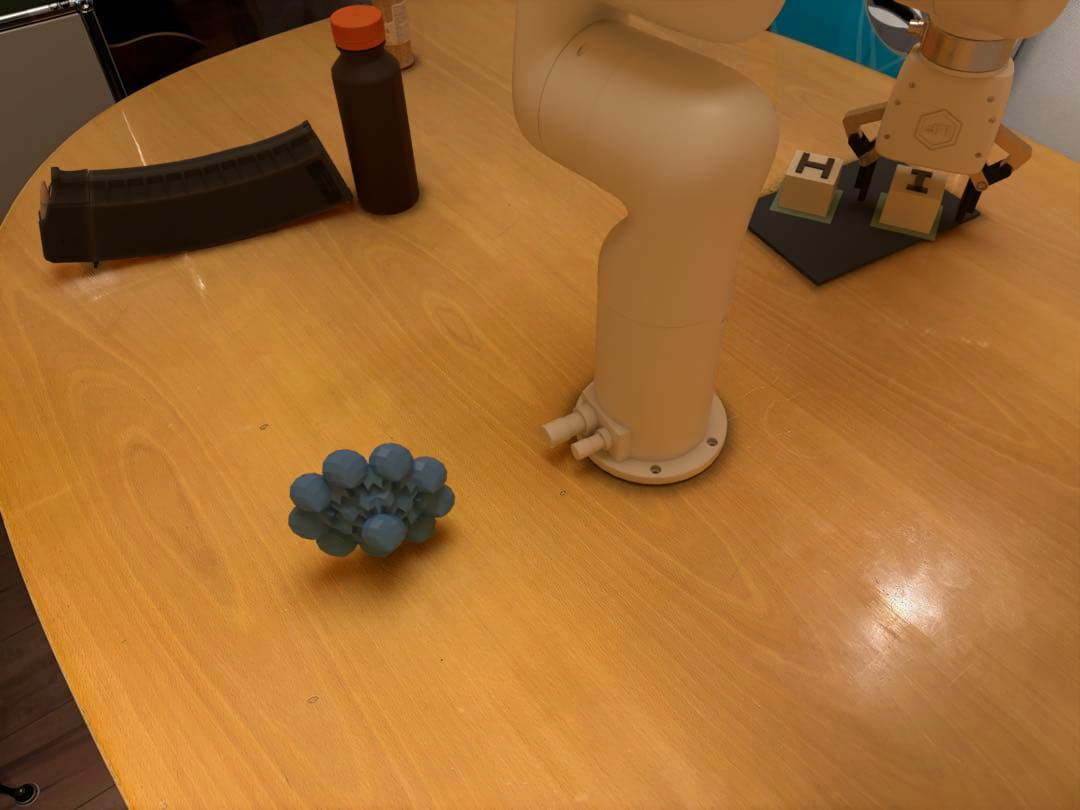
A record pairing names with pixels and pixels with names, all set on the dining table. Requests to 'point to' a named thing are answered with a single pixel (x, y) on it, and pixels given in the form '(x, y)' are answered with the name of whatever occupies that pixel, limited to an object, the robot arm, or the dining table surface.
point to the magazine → (188, 200)
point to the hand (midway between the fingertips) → (910, 205)
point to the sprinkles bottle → (396, 29)
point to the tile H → (810, 183)
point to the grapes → (370, 501)
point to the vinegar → (373, 111)
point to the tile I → (913, 199)
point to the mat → (844, 226)
